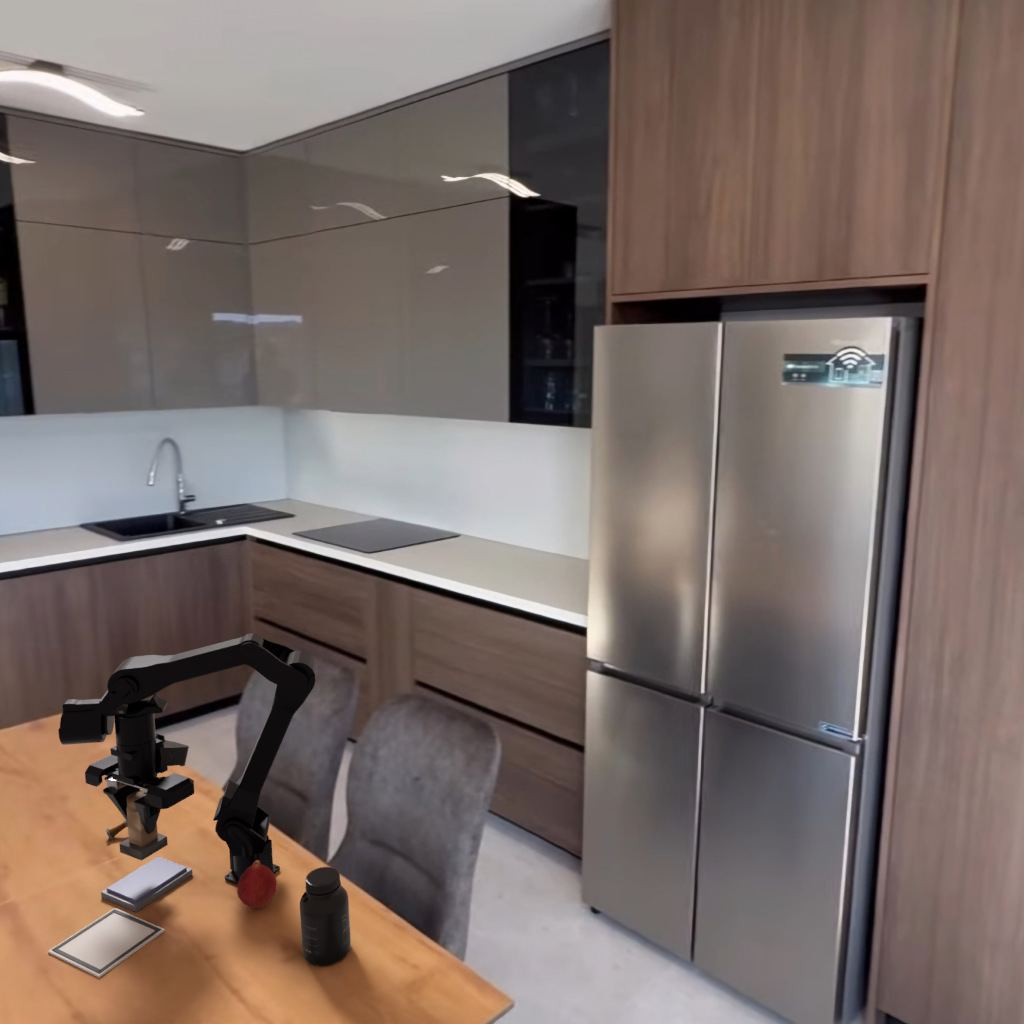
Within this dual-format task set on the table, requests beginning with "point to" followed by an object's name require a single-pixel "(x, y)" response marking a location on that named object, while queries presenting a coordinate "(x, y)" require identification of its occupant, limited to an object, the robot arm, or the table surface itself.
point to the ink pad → (146, 883)
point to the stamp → (140, 833)
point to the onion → (256, 885)
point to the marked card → (106, 942)
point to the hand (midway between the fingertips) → (142, 829)
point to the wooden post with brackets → (116, 830)
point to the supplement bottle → (324, 918)
